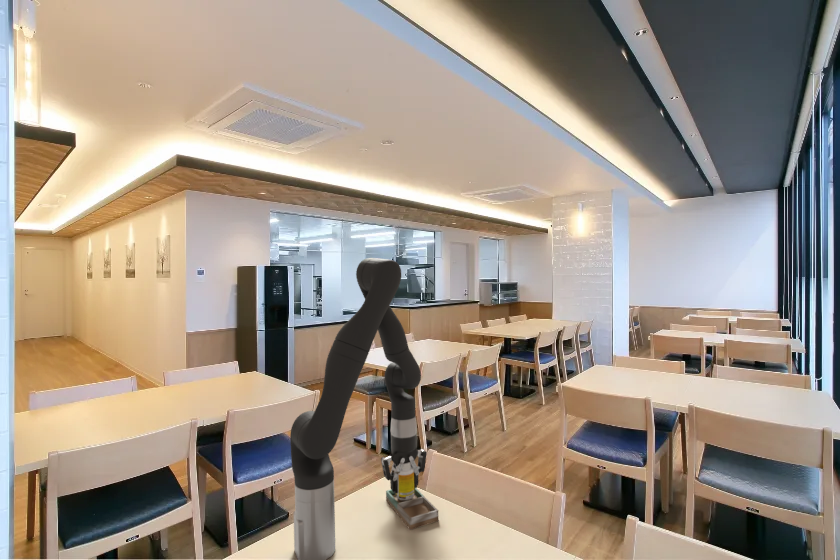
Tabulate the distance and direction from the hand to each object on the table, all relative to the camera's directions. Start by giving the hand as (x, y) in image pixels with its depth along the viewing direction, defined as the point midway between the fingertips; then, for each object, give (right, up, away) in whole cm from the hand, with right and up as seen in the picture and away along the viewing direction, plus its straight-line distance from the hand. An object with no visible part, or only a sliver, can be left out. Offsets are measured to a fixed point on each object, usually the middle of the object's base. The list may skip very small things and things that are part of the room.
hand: (404, 489), depth 122 cm
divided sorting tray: (+2, -4, -4) cm, 6 cm away
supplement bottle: (0, -2, 0) cm, 2 cm away
